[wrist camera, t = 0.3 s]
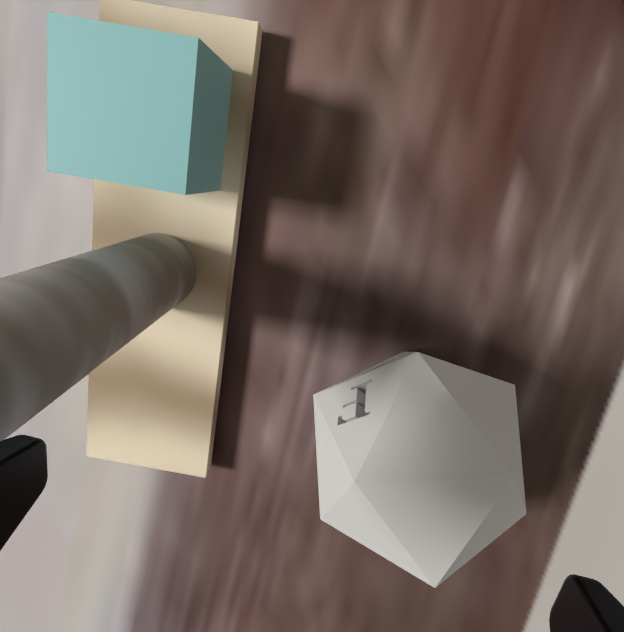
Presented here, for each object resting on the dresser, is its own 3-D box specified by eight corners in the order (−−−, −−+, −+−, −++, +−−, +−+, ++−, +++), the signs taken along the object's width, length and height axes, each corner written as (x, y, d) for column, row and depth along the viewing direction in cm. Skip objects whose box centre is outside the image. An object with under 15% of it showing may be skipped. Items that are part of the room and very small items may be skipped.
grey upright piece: (211, 465, 24) (49, 821, 11) (96, 445, 24) (-203, 771, 11) (262, 29, 19) (52, -347, 5) (112, 4, 19) (-478, -431, 5)
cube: (220, 190, 19) (185, 194, 15) (112, 171, 20) (47, 170, 15) (232, 70, 18) (198, 37, 14) (117, 50, 18) (47, 12, 14)
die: (503, 318, 22) (415, 311, 14) (586, 508, 20) (535, 619, 12) (362, 376, 27) (237, 394, 19) (417, 536, 24) (301, 630, 17)
